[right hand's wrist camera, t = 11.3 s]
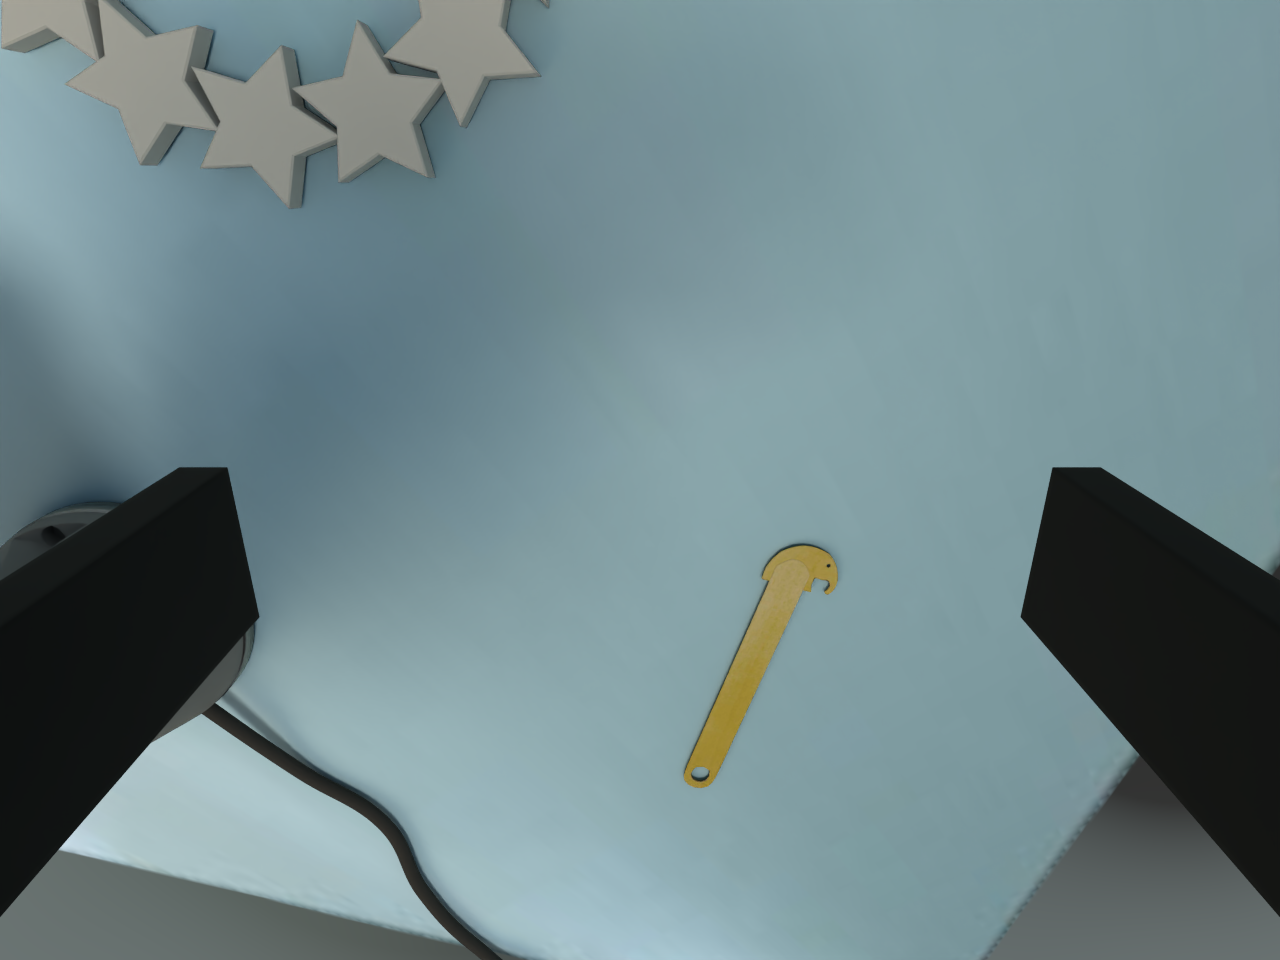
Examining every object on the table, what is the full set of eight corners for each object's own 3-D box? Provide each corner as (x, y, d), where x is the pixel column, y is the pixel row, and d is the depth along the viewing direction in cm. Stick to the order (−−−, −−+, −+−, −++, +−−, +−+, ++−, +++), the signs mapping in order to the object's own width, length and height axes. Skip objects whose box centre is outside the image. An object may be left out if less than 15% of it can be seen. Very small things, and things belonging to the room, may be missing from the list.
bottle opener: (733, 796, 54) (849, 557, 47) (733, 797, 54) (849, 558, 47) (671, 780, 53) (779, 536, 46) (672, 781, 53) (779, 537, 46)
